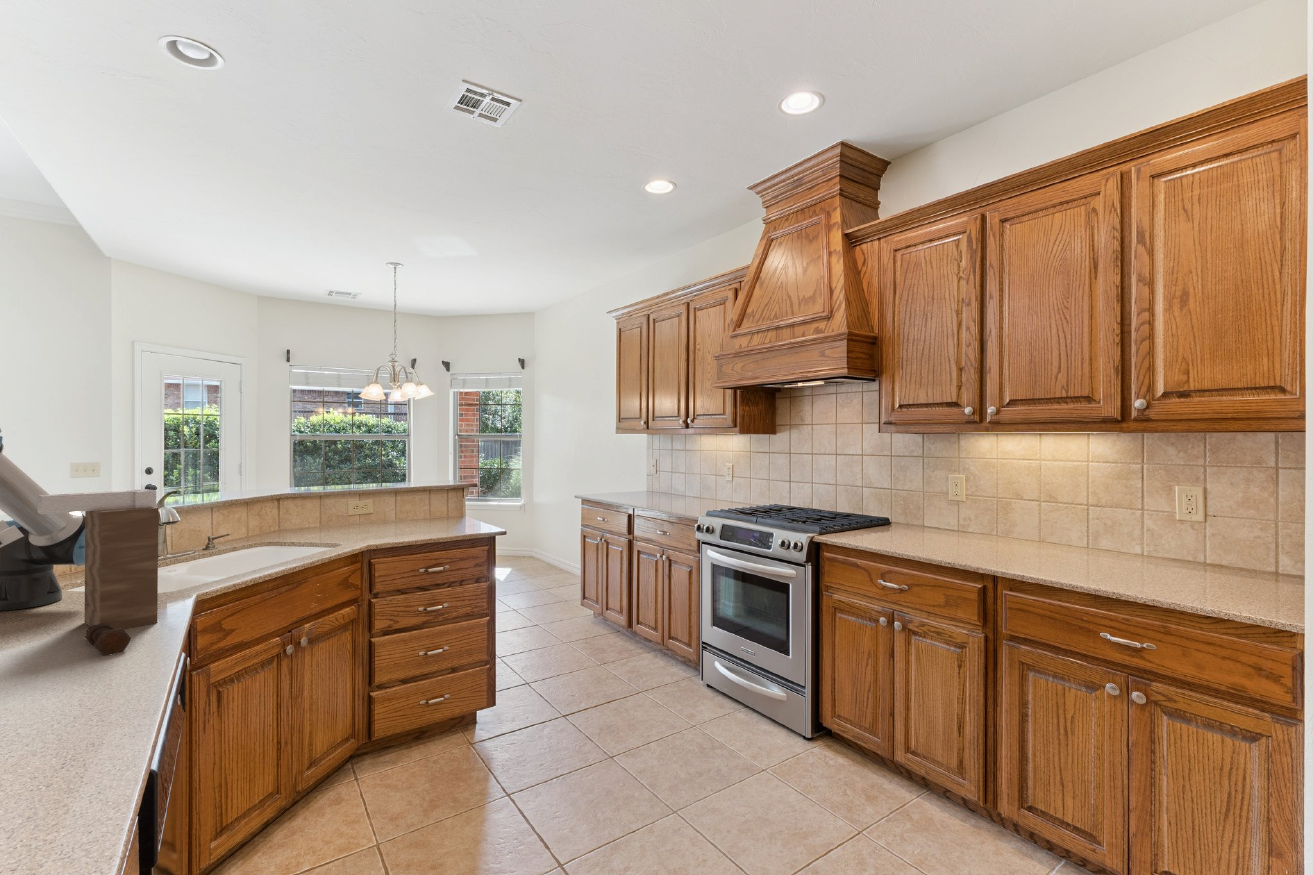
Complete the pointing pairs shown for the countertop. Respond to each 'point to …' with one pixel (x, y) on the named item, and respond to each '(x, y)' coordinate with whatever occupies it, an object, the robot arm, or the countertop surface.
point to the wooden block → (121, 567)
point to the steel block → (96, 501)
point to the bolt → (107, 638)
